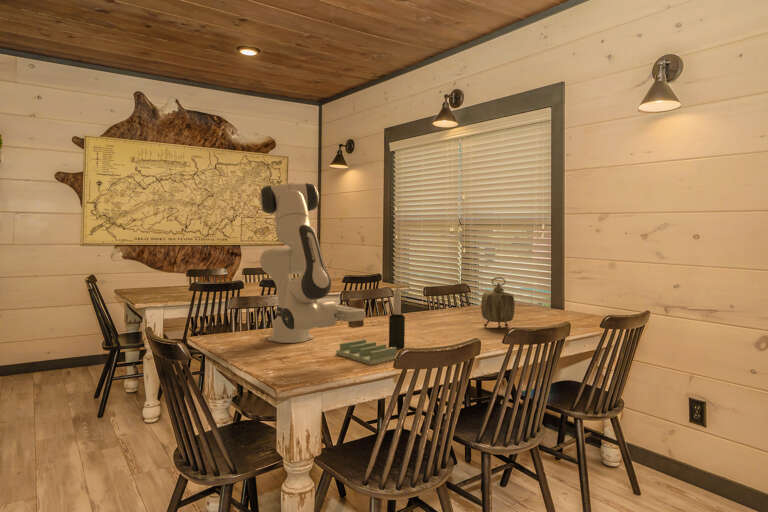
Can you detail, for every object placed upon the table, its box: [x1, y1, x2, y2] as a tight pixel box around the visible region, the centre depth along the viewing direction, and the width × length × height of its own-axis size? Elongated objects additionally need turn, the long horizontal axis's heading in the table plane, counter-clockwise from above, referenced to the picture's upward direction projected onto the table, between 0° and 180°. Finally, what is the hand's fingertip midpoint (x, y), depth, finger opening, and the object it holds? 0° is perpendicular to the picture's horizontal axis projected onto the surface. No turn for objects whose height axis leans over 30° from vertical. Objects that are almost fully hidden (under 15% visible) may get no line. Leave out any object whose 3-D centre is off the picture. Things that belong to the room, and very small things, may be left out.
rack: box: [335, 338, 398, 366], centre depth 179 cm, size 14×20×4 cm
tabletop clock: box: [480, 276, 516, 329], centre depth 237 cm, size 14×9×25 cm, turn 97°
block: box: [347, 297, 365, 329], centre depth 175 cm, size 5×2×10 cm, turn 132°
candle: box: [388, 284, 406, 349], centre depth 194 cm, size 5×5×25 cm
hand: (358, 309), depth 176 cm, fingers closed on block, 2 cm apart
